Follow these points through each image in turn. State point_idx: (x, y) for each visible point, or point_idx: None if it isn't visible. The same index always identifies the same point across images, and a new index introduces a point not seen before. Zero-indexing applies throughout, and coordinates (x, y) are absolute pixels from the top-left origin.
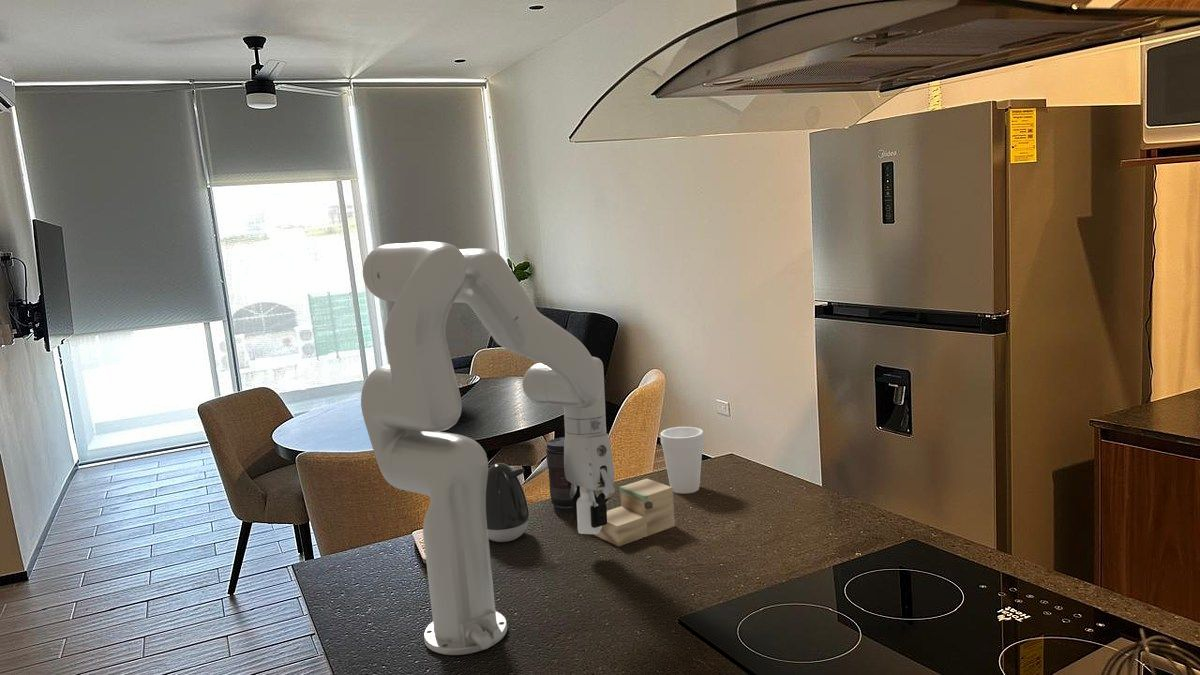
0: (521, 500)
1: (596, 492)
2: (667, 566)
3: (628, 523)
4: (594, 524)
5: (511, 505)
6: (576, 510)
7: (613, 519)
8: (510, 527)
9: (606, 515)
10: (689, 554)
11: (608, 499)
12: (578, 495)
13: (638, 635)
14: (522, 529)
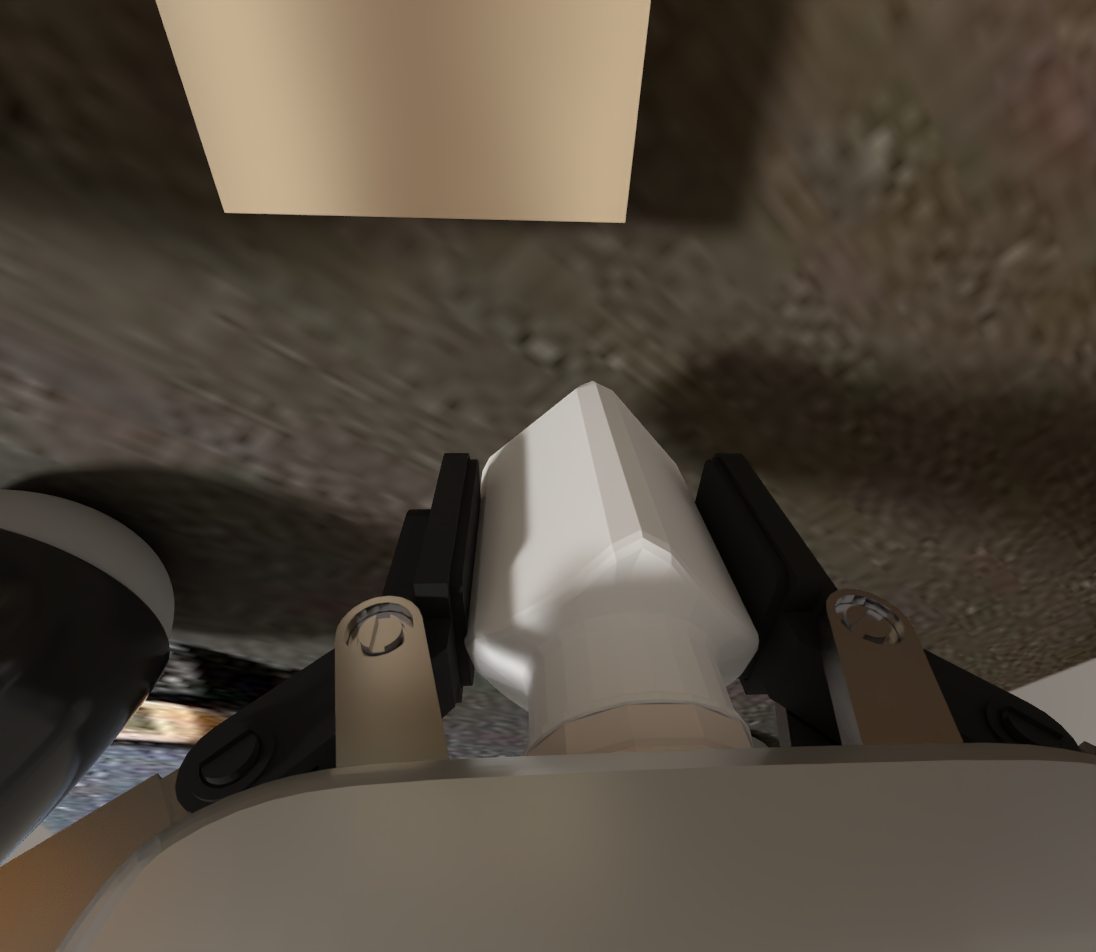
0: None
1: (726, 700)
2: (1061, 173)
3: (640, 54)
4: None
5: (63, 752)
6: None
7: (458, 122)
8: (166, 644)
9: (765, 492)
10: None
11: (975, 678)
12: (452, 688)
13: (1093, 591)
14: (134, 560)
